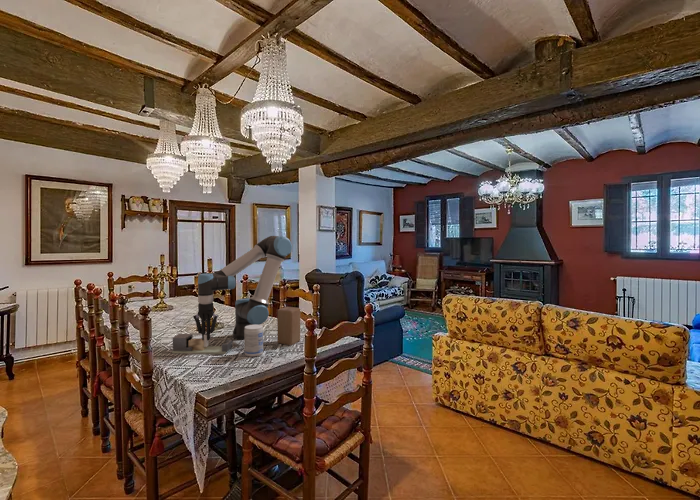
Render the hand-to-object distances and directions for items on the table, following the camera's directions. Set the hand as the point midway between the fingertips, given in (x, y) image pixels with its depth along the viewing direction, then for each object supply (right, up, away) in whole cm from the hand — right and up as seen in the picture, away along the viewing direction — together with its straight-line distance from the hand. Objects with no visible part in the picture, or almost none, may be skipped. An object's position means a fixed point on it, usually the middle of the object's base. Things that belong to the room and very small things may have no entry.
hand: (206, 345), depth 193 cm
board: (-2, -3, 0) cm, 3 cm away
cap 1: (-11, -2, 0) cm, 11 cm away
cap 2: (+11, -2, 0) cm, 11 cm away
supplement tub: (+27, -3, -4) cm, 27 cm away
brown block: (-5, -2, 0) cm, 5 cm away
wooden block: (+42, -2, +16) cm, 45 cm away
